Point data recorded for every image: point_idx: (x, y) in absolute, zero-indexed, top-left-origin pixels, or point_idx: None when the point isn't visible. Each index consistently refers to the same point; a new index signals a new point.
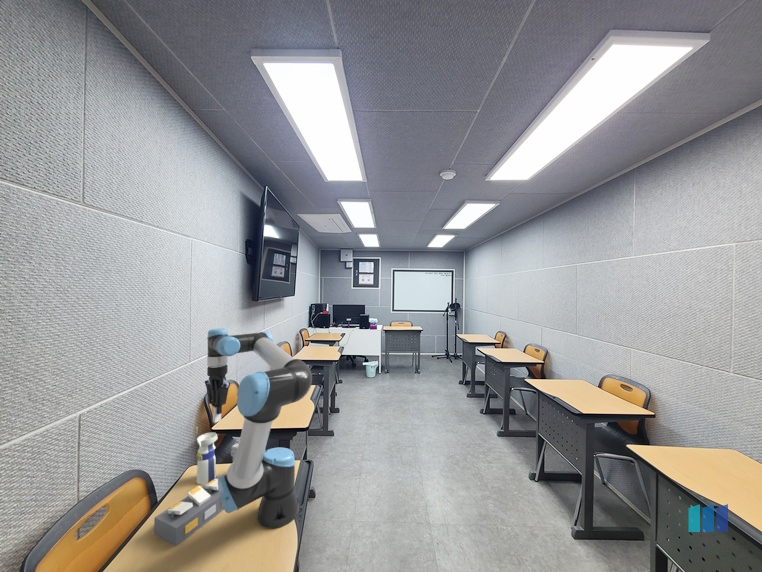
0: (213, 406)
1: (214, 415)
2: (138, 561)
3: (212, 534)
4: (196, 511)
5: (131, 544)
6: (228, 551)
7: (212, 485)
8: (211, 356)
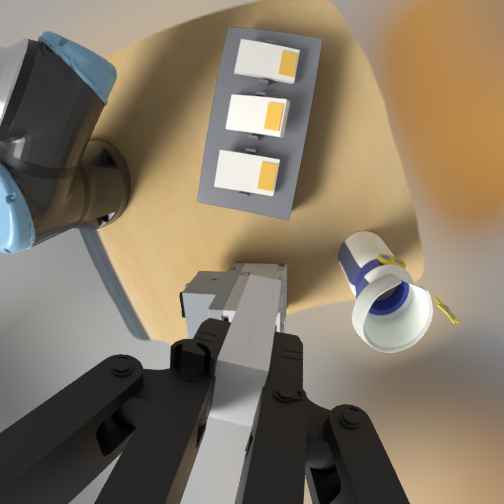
0: (263, 374)
1: (253, 306)
2: (282, 3)
3: (184, 87)
4: (225, 79)
5: (342, 28)
6: (125, 72)
7: (245, 157)
8: None
